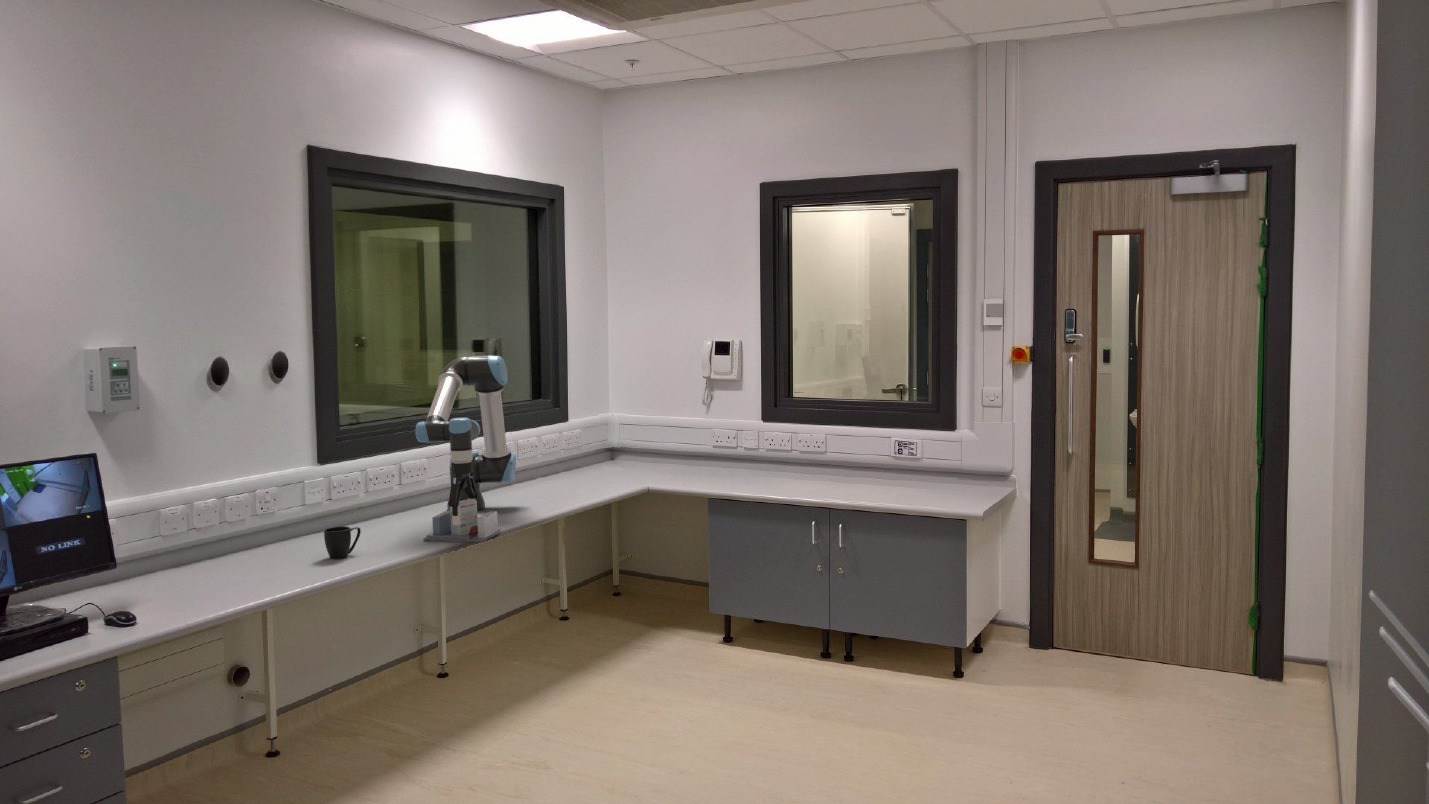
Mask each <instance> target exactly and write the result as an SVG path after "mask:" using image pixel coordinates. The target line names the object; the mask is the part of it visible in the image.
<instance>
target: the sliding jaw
mask: <svg viewBox="0 0 1429 804" xmlns="http://www.w3.org/2000/svg"><path fill="white" fill-rule="evenodd" d="M431 520H432V534H433V535H444V534H446V533H448V532H450V531H451V516H450V511H448V510H446V511H444V512H442V513H440V514H437V515H435V516H432V519H431Z"/></svg>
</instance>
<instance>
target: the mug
mask: <svg viewBox="0 0 1429 804" xmlns="http://www.w3.org/2000/svg"><path fill="white" fill-rule="evenodd" d="M353 530H356V531H357V533H356V536H355V539H354V541H353V543H352V545H351V542H352V531H353ZM360 535H361V528H360V527H359V526H358V527H357V526H356V527H349V526H333V527H328V528H325V529H324V530H323V538H324V540H323V541H324V545H325V548H326V552H327V555H328V557H329V559H331V560H342V559H346V558H348V556H349V555H350V554H351V553H352V552H353V550H354V549H355V547H356V545H357V542H358V541H359V538H360Z"/></svg>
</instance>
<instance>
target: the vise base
mask: <svg viewBox="0 0 1429 804" xmlns="http://www.w3.org/2000/svg"><path fill="white" fill-rule="evenodd" d="M477 517H478V516H477ZM477 521H478V532H477V533H472V534H468V535H451V531H450V532H448V533H446V534H444V535H433V533H431V534H426V535H425V537H423V539H422V540H423V542H425V543H426V542H433V543H438V542H439V543H441V542H442V543H484V542H486V541H488V540H490V539H492V538H493V537H495V536H497V535H498V534H500V533H501V529H500V528H499V526H498V525H499V523H498V511H491V510H490V511H489V512H486V513H484V514H482V515H481V516H479V517H478V518H477Z"/></svg>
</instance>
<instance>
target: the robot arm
mask: <svg viewBox="0 0 1429 804" xmlns="http://www.w3.org/2000/svg"><path fill="white" fill-rule="evenodd" d="M508 375H509V373H508V367H507V364H506V362H505V360H504V358H503V357H501V356H500V355H492V354H491V355H490V354H489V355H470V356H469V355H463V356H459V357H457V358H455V359H453V360H452V361H450V362H449V363H448V364H446V366H445V367H444V368H443V369H442V370H441V372H440V374H439V376H438V379H437V384H438V385H437V390H436V391H435V395H434V397H433V400H432V402H431V406H430V408H429V411H428V414H427V417H426V419H425V421H419V422H417V423H416V425H415V431H414V433H415V438H416V440H417V442H419V443H428V444H429V443H449V446H450V447H449V448H450V450H449V451H450V452H449V455H450V458H449V466H448V467H449V478H450V481H449V482H450V490H449V491H450V492H449V497H448V500H447V505H446V509H447V510H446V511H450V507H452V523H453V525H461V520H460V506H459V502H460V501H463V500H468V499H469V500H476V501H477V511H481V510H484V509H485V508H486V501H485V499H484V496H483V494H482V490H481V484H505V483H511V482H512V481H513V480H514V477H515V474H516V468H517V456H516V454H514V453H512V449H511V448H510V447H508V446H507V439H506V438H507V437H506V428H505V421H504V420H505V419H504V408H503V399H502V392H503V390H504V389H505V385H507V384H508V380H509V378H508ZM465 386H466V387H467V386H469V387H470V386H474V388H473V389H474V392H475V393H477V394H478V397H479V405H480V413H481V414H480V415H481V423H482V424H481V425H482V432H483V441H484V449H483V450H482V451H481V454H480V453H479V451H476V450H475V451H474V450H473V444H472V443H473V441H474V440H476V439H477V438H478V437H479V435H480V434H481V426H480V425H479V423H478V422H477V421H475V420H473V419H470V418H469V417H454V418H451V419H449V418H450V415H451V412H452V411H453V410H452V409H453V406H454V403H455V401H456V398H457V395H458V392H459V391H461V389H463V387H465Z"/></svg>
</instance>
